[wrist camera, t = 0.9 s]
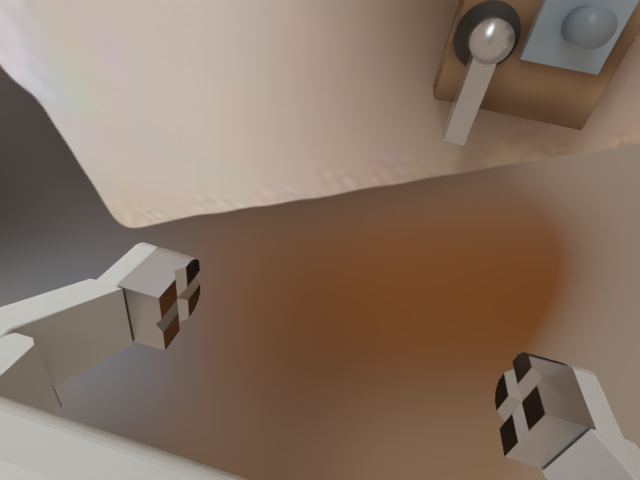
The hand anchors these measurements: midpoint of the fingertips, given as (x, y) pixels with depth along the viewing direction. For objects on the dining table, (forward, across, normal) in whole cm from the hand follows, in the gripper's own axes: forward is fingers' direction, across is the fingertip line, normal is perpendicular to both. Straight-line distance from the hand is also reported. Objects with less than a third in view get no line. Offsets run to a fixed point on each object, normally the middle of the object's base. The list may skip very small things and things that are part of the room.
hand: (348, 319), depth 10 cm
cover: (+30, -12, -7) cm, 33 cm away
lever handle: (+30, -6, -1) cm, 30 cm away
